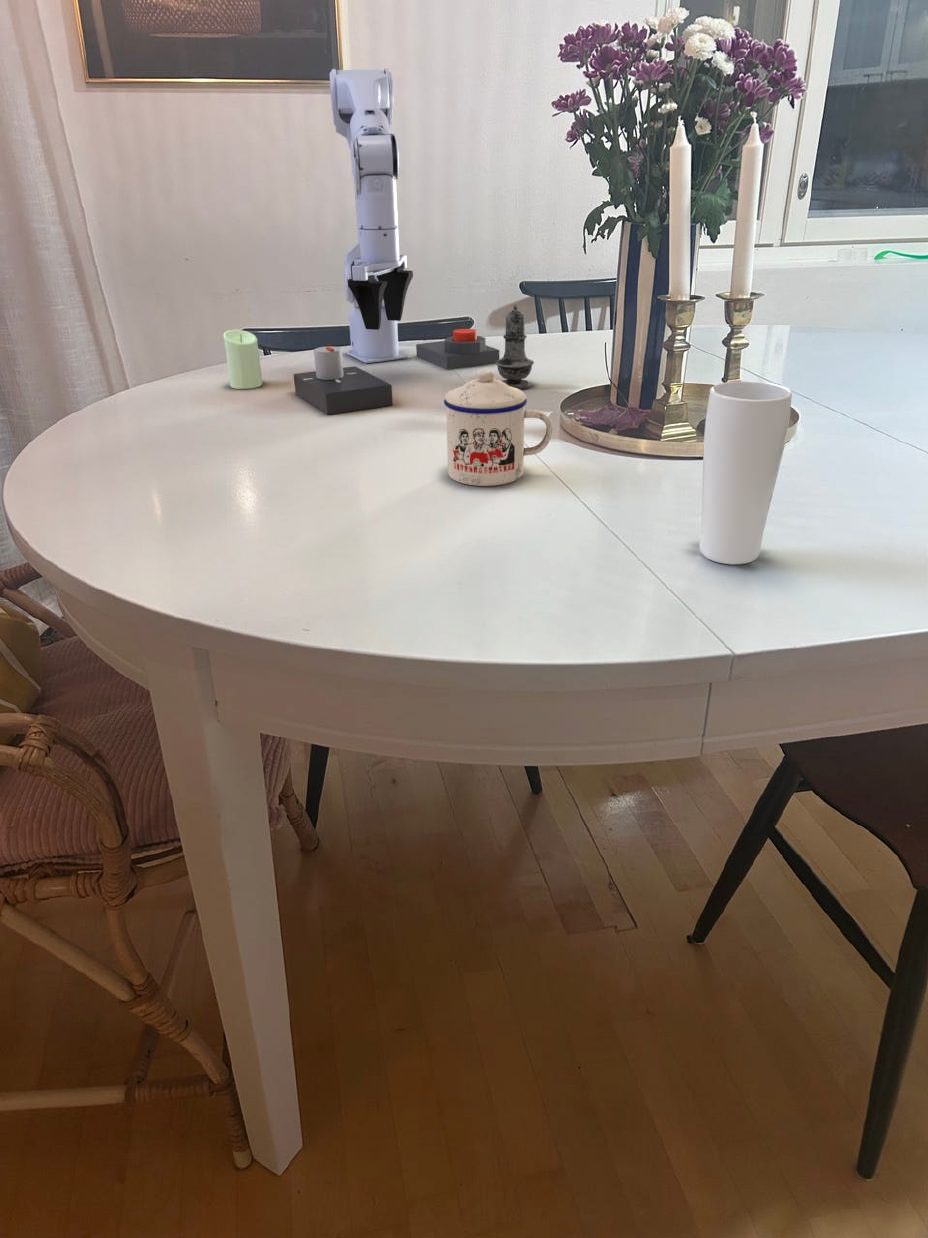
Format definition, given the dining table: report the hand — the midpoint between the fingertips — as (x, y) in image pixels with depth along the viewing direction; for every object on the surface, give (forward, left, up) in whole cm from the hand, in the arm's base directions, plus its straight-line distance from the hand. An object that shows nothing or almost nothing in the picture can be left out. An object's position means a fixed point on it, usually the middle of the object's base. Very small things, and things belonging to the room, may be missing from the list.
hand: (383, 324), depth 138 cm
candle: (-10, -20, -9) cm, 24 cm away
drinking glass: (+77, 0, -9) cm, 77 cm away
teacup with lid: (+47, -7, -9) cm, 48 cm away
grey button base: (-9, +17, -9) cm, 22 cm away
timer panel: (+6, -10, -9) cm, 14 cm away
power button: (-6, +17, -5) cm, 19 cm away
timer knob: (+4, -11, -6) cm, 13 cm away
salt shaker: (+12, +16, -9) cm, 22 cm away
